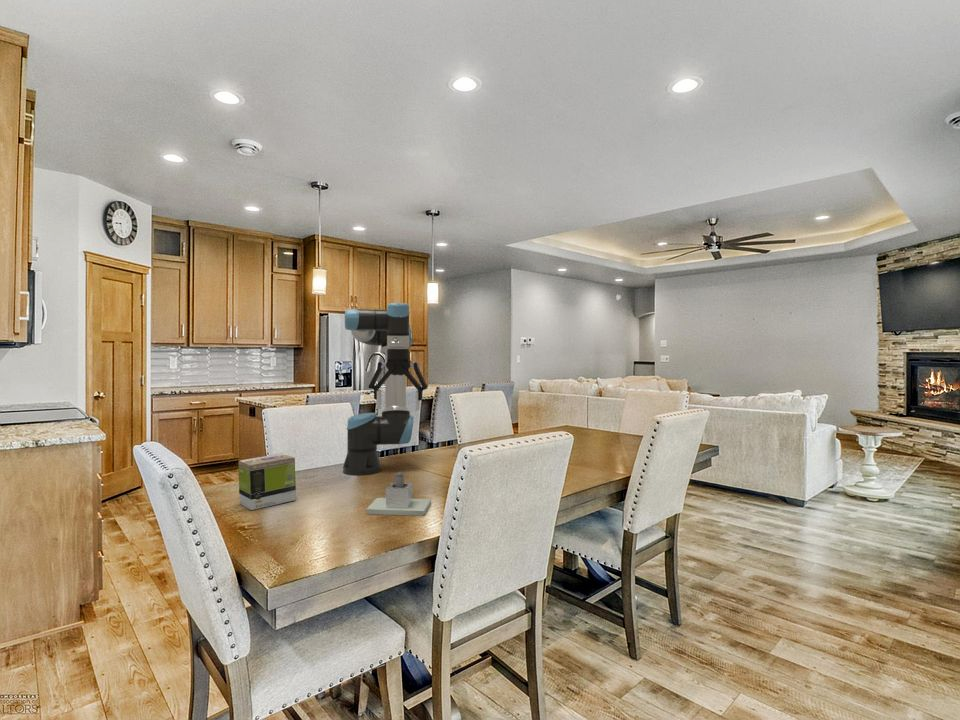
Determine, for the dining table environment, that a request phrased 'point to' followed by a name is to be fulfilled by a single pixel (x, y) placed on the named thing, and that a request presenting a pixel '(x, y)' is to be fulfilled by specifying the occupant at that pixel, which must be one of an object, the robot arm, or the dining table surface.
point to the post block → (414, 509)
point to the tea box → (267, 481)
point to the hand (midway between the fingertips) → (398, 409)
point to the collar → (399, 495)
